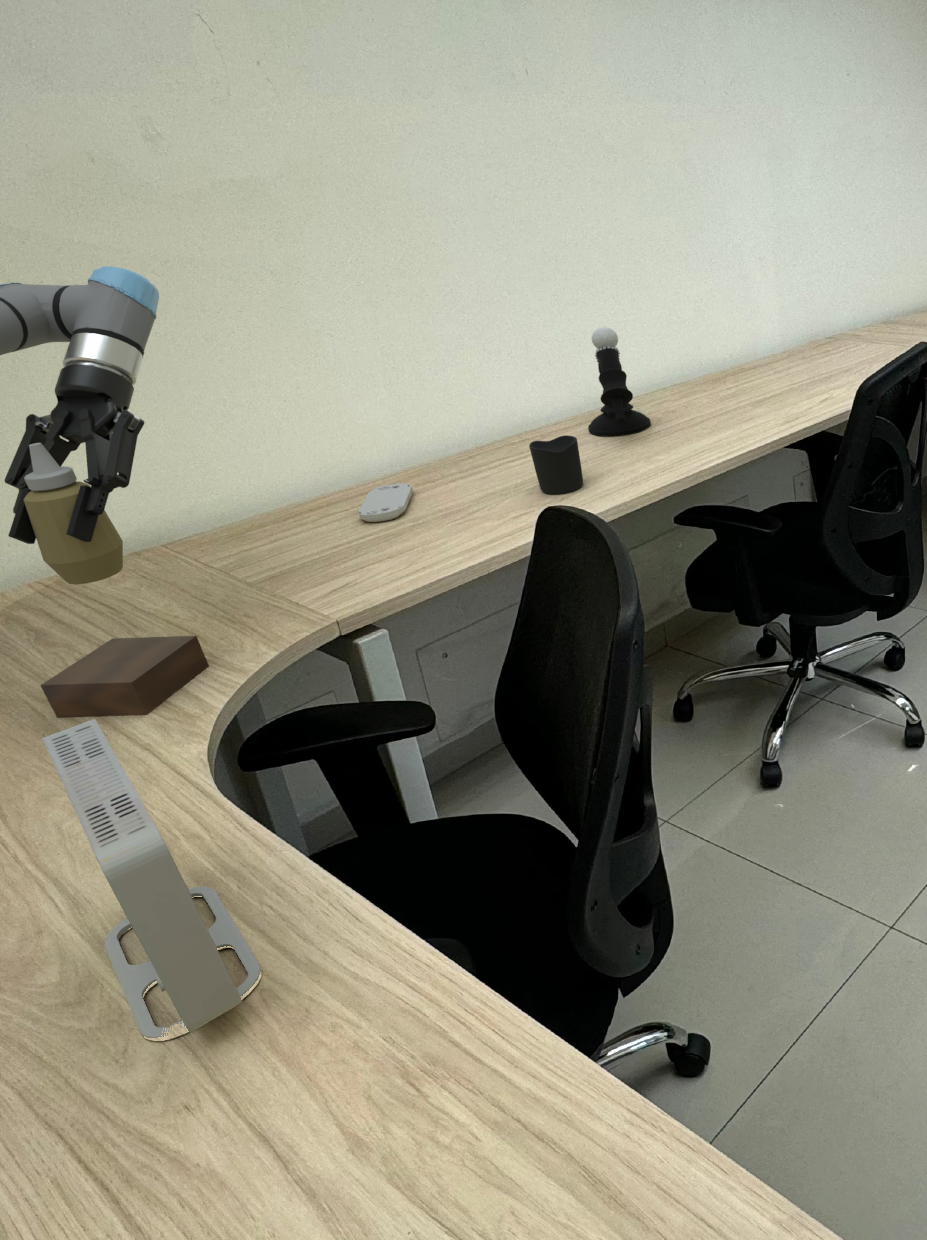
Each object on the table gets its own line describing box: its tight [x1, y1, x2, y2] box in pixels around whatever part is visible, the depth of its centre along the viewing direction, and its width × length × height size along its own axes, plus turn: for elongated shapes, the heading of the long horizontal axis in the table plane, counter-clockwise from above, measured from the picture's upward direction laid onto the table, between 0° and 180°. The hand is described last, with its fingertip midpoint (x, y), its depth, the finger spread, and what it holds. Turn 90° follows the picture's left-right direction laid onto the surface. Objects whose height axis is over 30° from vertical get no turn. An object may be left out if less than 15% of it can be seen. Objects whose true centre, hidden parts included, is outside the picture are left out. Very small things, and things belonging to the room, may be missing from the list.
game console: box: [357, 482, 414, 523], centre depth 184 cm, size 18×2×8 cm
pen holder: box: [528, 435, 584, 495], centre depth 189 cm, size 9×9×10 cm
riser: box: [40, 635, 210, 718], centre depth 123 cm, size 12×12×5 cm
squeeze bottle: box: [24, 443, 124, 586], centre depth 115 cm, size 8×8×18 cm
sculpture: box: [587, 326, 652, 437], centre depth 221 cm, size 15×24×25 cm, turn 20°
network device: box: [41, 718, 262, 1038], centre depth 78 cm, size 26×9×20 cm, turn 48°
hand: (50, 538), depth 113 cm, fingers closed on squeeze bottle, 6 cm apart
